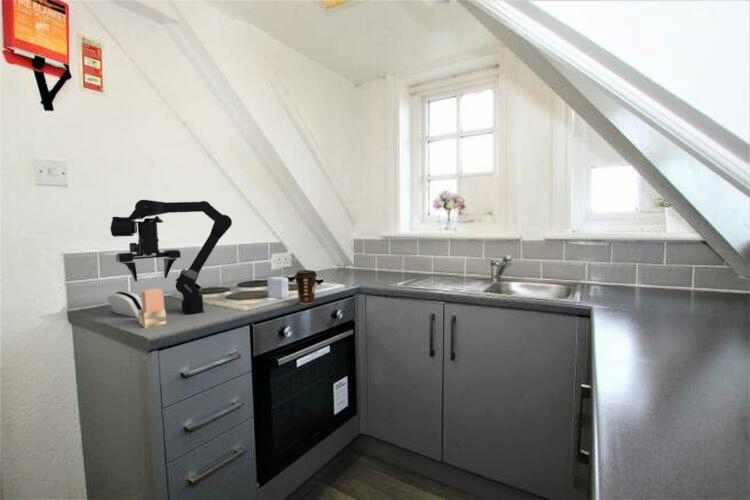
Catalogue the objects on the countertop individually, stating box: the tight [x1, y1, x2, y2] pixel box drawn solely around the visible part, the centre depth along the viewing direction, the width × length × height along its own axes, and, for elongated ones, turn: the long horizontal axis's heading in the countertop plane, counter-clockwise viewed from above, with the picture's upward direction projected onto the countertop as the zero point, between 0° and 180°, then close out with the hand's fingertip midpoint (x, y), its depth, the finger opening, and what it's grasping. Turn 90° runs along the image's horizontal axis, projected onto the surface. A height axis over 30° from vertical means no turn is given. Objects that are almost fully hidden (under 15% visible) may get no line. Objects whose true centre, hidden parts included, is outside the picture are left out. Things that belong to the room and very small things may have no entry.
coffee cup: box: [294, 269, 318, 305], centre depth 145 cm, size 9×8×13 cm
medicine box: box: [267, 276, 289, 300], centre depth 156 cm, size 8×4×9 cm, turn 65°
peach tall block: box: [140, 288, 166, 321], centre depth 118 cm, size 5×4×10 cm
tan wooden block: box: [138, 309, 167, 329], centre depth 118 cm, size 6×8×4 cm
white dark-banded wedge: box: [107, 290, 143, 319], centre depth 130 cm, size 17×5×10 cm, turn 61°
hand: (151, 279), depth 127 cm, fingers open, 9 cm apart
